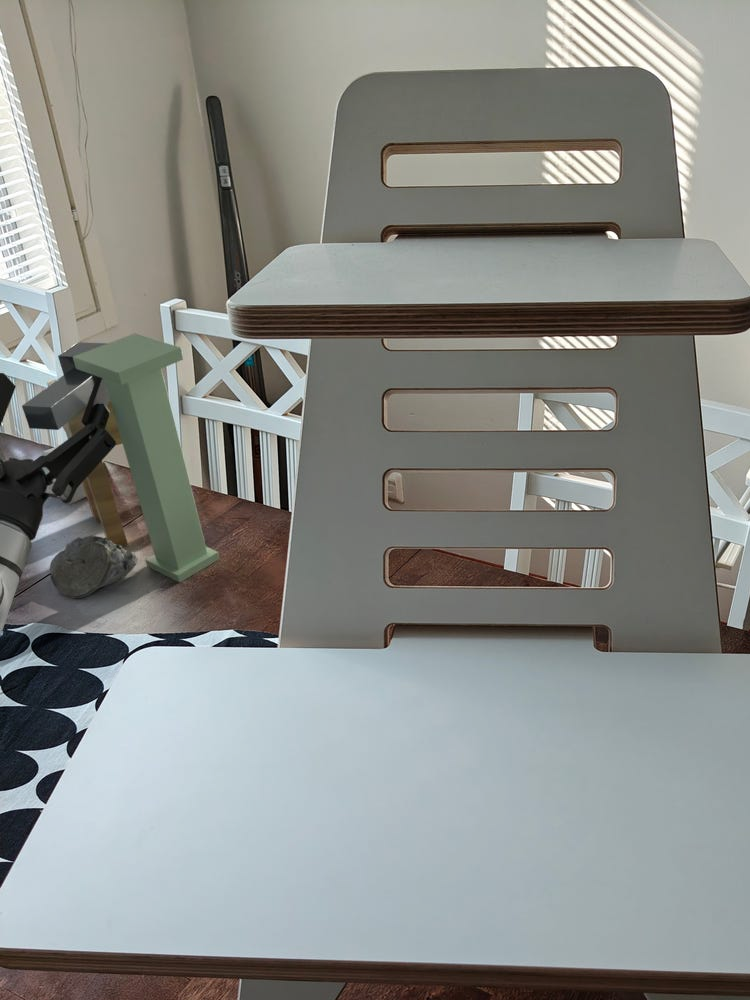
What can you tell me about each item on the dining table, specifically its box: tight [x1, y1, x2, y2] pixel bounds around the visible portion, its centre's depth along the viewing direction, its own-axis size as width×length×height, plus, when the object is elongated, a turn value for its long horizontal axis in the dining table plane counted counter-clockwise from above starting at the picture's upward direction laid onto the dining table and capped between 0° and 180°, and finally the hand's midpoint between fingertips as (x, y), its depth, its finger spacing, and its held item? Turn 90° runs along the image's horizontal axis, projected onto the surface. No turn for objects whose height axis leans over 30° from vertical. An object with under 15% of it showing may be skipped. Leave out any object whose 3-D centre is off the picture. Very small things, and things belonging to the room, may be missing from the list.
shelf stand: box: [73, 333, 220, 584], centre depth 126 cm, size 9×9×30 cm
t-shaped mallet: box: [21, 341, 109, 431], centre depth 126 cm, size 16×6×5 cm, turn 168°
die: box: [41, 444, 104, 506], centre depth 149 cm, size 8×9×10 cm
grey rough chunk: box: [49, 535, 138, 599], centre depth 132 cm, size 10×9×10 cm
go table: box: [46, 379, 129, 547], centre depth 138 cm, size 12×12×21 cm
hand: (55, 381), depth 123 cm, fingers open, 13 cm apart
